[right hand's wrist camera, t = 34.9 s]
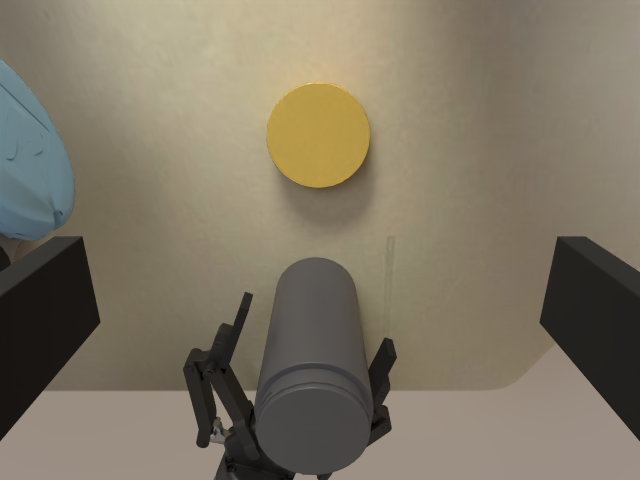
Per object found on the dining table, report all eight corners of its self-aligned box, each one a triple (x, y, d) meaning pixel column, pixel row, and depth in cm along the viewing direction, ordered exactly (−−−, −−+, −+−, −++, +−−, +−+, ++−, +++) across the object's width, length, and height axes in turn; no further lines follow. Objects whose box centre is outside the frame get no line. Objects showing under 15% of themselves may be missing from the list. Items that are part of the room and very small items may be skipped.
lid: (266, 177, 41) (264, 183, 39) (271, 77, 38) (269, 77, 36) (360, 185, 42) (363, 192, 40) (373, 87, 38) (376, 88, 36)
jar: (278, 254, 44) (251, 377, 27) (359, 260, 44) (384, 386, 27) (274, 324, 47) (248, 476, 30) (351, 329, 47) (369, 483, 30)
